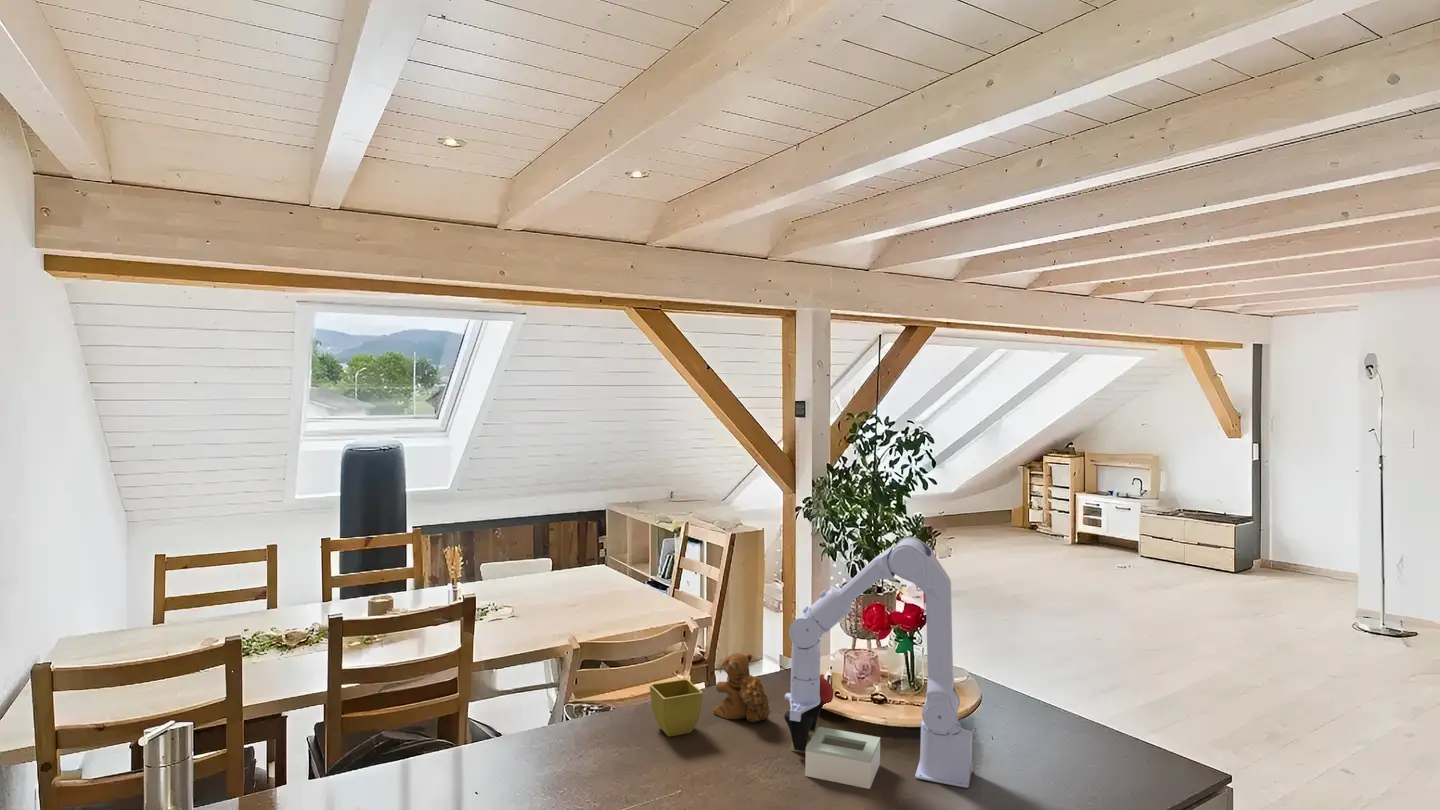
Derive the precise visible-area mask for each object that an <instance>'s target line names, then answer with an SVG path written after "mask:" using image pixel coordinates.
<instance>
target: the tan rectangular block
mask: <svg viewBox="0 0 1440 810" xmlns="http://www.w3.org/2000/svg"><path fill="white" fill-rule="evenodd" d="M816 731H817V730H815V731H814V730H809V734H808V740H807V745H808V743H809V742H810V740H811V739H812V737H813V735H814V734H815V732H816ZM806 747H807V746H806ZM790 749H791V752H796V753H801V754H806V749H805V751H799V750H795V749H794V746H793V742H792V740H791V746H790Z"/></svg>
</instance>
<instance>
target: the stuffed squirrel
mask: <svg viewBox="0 0 1440 810" xmlns="http://www.w3.org/2000/svg"><path fill="white" fill-rule="evenodd" d="M753 657H754V655H753V654H751V653H748V654H744V653H741V652H740V653H739V652H738V653H737V652H735V653H732V654H730V655H728V656H727V657H725V659H723V660H724V661H723V662H722V664H721V665H720V668H719V670H718V672H719V673H720V674H722V669H723V670H724V672H725V673H726V675H727V677H726V678H727V679H726V681H723V680H722V681H717V683H716V684H715V690H716V691H717V692H718V693H722V694H725V693H726V694H727V695H726V697H725V699H724V700H722V702H721V705H716V706H715V707H714V708H713V709H712V712H713V714H714V715H716V716H717V717H720V718H722V719H727V720H743V719H745V720H746V721H747V722H751V723H757V722H759V721H763V720H766V719H767V718H768V716H769V714H770V713H772V711H771V709H770V706H769V699H768V696H767V694H765V689H764V685H762V683H761V682H762V679H760V678H759V677H758V676H753V675H751V674H750V668H749V667H750V662H751V661H752V659H753Z"/></svg>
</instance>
